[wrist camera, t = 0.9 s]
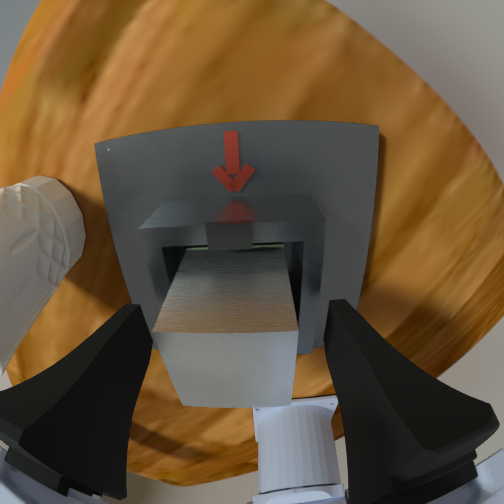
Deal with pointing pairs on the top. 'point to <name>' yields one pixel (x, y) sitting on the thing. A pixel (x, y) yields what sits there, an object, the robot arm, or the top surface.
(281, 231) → the gray frame
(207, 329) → the steel column
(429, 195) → the top surface
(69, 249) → the white cup
